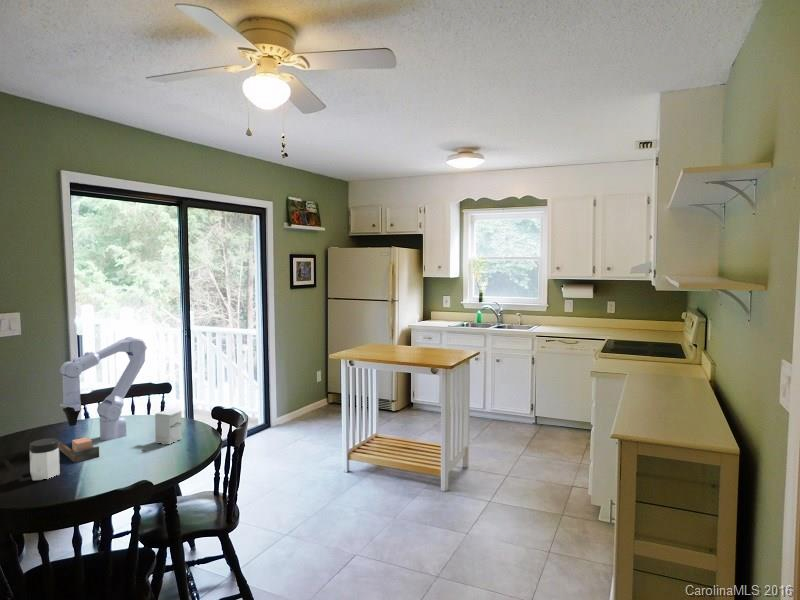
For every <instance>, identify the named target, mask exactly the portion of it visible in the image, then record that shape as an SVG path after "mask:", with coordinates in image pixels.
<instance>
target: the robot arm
mask: <svg viewBox="0 0 800 600" xmlns="http://www.w3.org/2000/svg"><path fill="white" fill-rule="evenodd" d="M147 348H148V347H147V345H146V343H145V341H144V340H142V339H141V338H135V337H132V336H128V337H125V338H122V339H120V340H118V341H116V342H114V343H112V344H111V345H109V346H107V347H105V348H103V349H101V350H99V351H97V352H93V351H90V352H88V351H86V352H84V354H83V355H81V356H79V357H77V358H72V360H71V361H65V362H64V363H63V364H62V365H61V366H60V368H59V373H61V374H62V398H63V399H62V400H63V401H62V402H63V403H60V404H59V407H64V408H62V411H63V412H64V415H65V417H66V419H67V423H68V425H69V426H70V427H72V426H74V427H75V426H76V425H77V423H78V418H79V415H80V412H81V411H82V402H81V401H82V400H81V384H80V383H81V381H80V375H81V374H82V372H84V371H88V370H89V369H90V368H94V367H95V366H97V365H99V363H100V361H101V360H103V359H105V358H107V357H109V356H112V355H114V354H115V355H116V354H117V353H122V352H123V353H125V354H126V355H127V357H128V359H129V362H128V364H127V366H126V368H125V369H124V370H123V372H122V374H121V376H120V378H119V380H118V381H117V383H116V384H115V386H114V388H113V389H112V392H111V393H110V394H109V395H107V396H106V397H105V398H104V400H103V401H102V402H100V403H99V405H98V406H97V407H96V412H97V414H98V415H99V417H100V418H99V439H100V440H101V441H110V440H111V441H113V440H116V439H119V438H123V437H127V421H126V418H125V416H121V414H122V412H123V411H122V409H123V407H124V405H125V404H124V403H125V402H124V399H125V397H126V395H127V393H128V392H129V389H131V387H132V385H133V383H134V381H135V379H136V378H137V376H138V374H139V373H140V371H141V369H142V367H143V365H144V364H145V362H146V350H147Z"/></svg>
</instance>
